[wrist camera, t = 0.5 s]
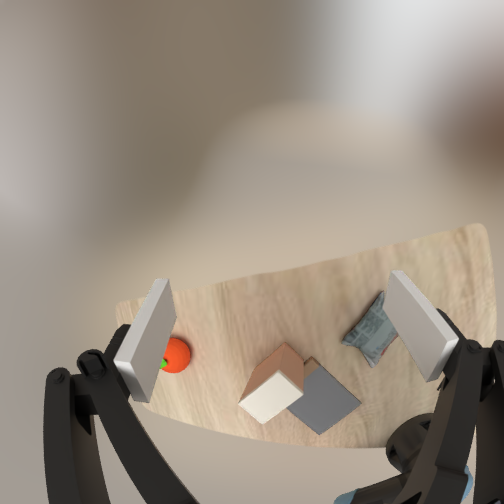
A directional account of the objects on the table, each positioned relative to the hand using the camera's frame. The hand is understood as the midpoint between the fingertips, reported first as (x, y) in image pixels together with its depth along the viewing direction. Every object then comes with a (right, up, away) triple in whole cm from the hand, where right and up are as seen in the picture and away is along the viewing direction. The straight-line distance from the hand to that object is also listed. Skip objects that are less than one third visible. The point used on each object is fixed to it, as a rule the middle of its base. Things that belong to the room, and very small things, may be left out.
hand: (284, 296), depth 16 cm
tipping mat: (+11, -26, +32) cm, 42 cm away
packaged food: (+21, -11, +30) cm, 39 cm away
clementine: (-17, -18, +37) cm, 44 cm away
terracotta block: (+3, -18, +33) cm, 38 cm away
